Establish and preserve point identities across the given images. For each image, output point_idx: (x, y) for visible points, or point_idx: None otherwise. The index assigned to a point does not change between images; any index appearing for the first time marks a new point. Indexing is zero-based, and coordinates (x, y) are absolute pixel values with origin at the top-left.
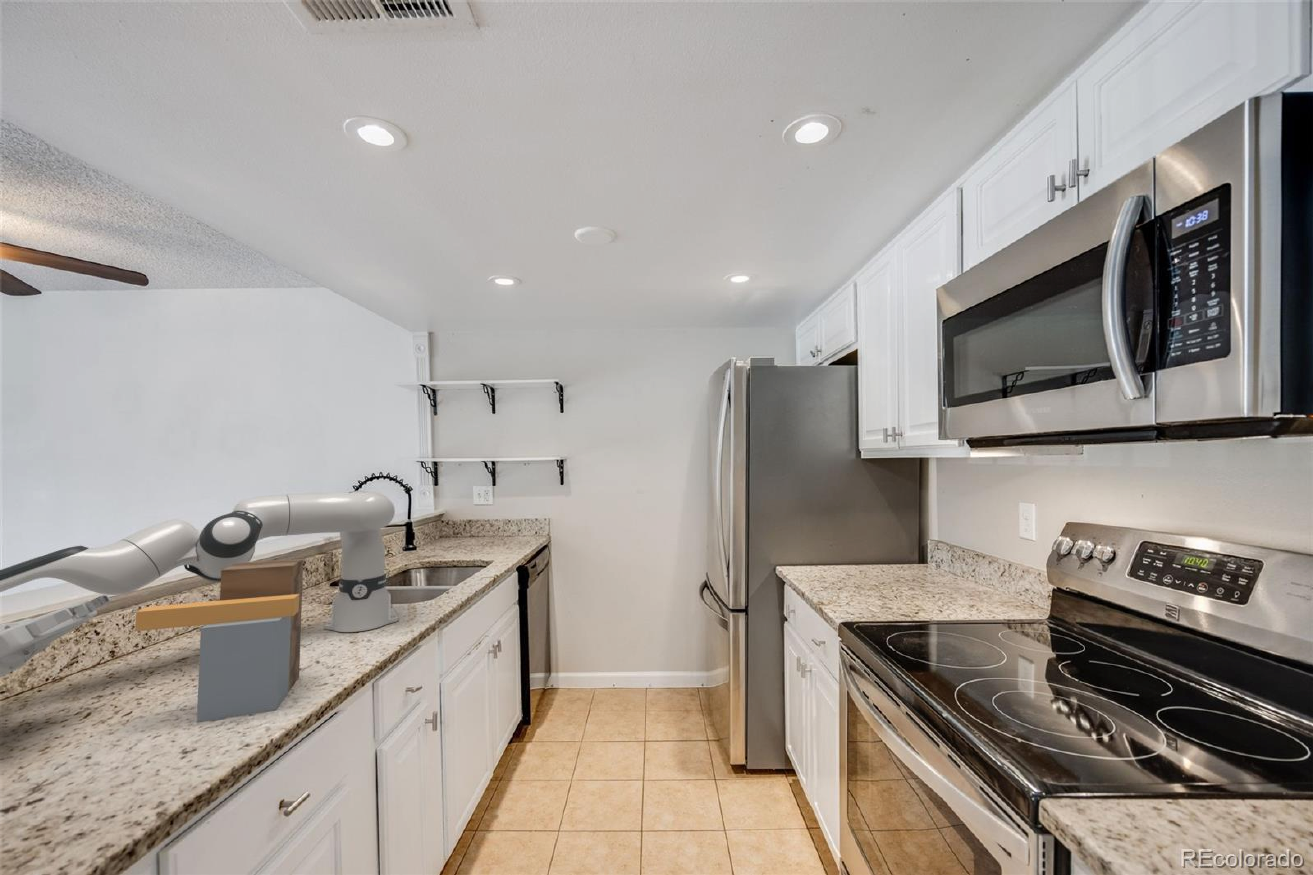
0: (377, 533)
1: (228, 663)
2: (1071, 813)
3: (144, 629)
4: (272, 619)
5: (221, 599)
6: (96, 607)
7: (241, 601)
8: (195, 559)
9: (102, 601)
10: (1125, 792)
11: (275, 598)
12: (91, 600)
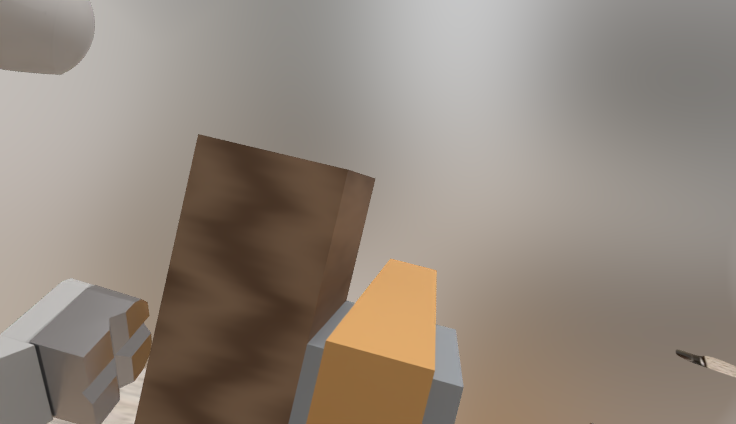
0: None
1: None
2: (721, 371)
3: None
4: (439, 329)
5: (321, 281)
6: (101, 416)
7: (416, 284)
8: None
9: (134, 347)
10: (699, 358)
11: (419, 272)
12: (89, 352)
